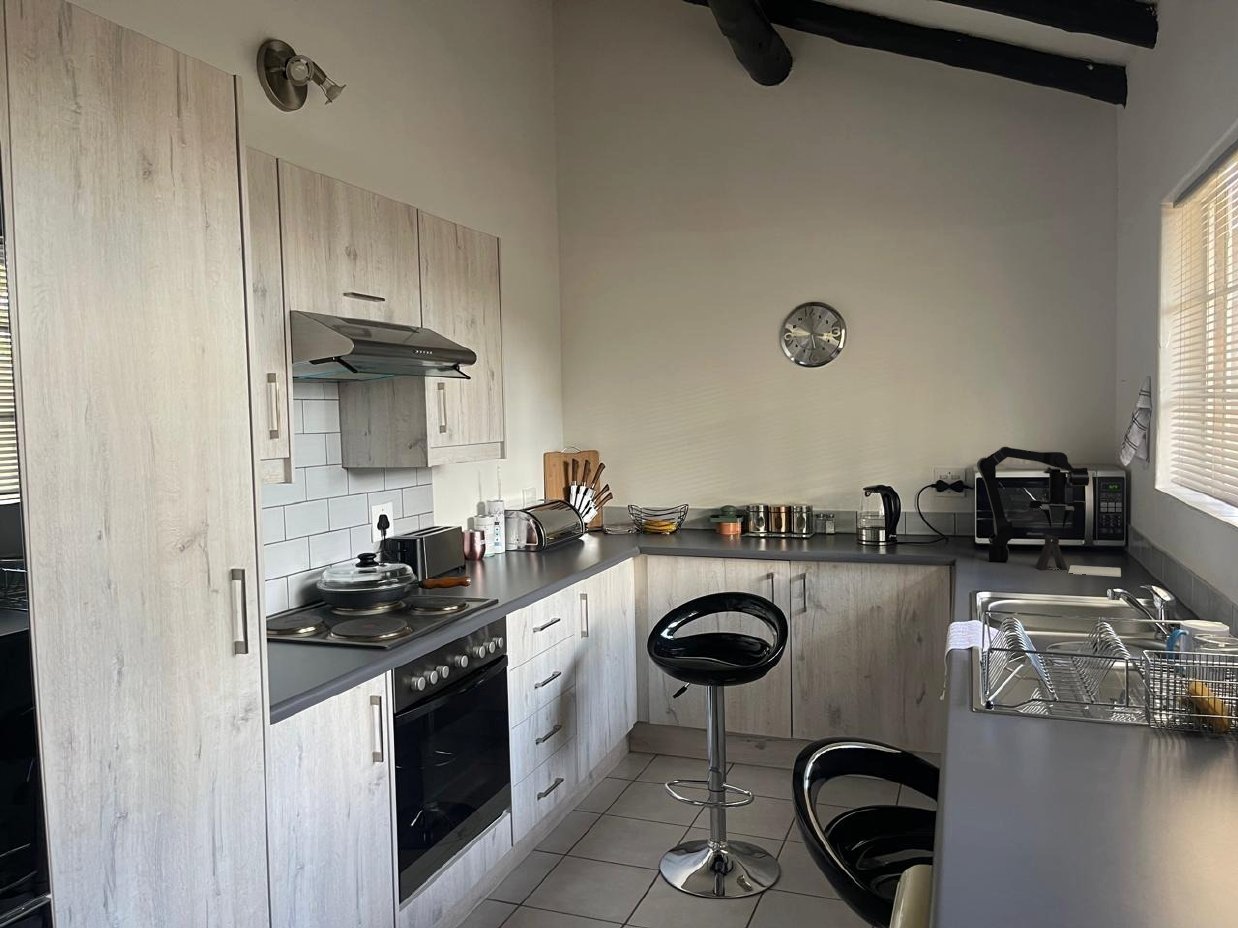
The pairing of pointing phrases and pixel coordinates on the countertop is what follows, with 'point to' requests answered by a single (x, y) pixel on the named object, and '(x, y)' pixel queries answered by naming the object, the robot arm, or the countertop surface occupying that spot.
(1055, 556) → the phone stand
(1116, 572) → the mat
